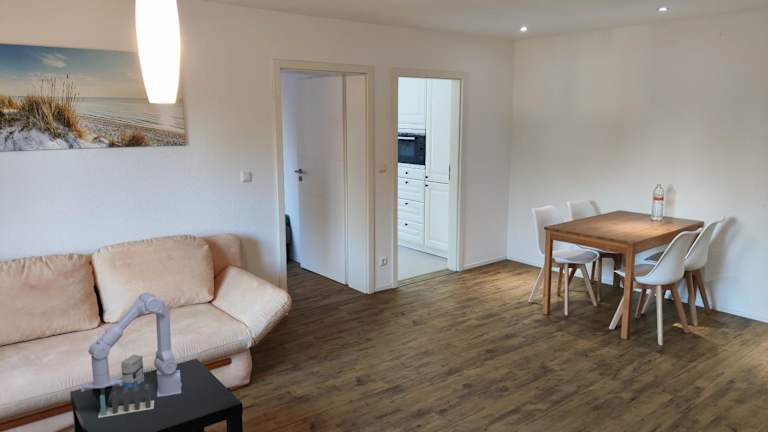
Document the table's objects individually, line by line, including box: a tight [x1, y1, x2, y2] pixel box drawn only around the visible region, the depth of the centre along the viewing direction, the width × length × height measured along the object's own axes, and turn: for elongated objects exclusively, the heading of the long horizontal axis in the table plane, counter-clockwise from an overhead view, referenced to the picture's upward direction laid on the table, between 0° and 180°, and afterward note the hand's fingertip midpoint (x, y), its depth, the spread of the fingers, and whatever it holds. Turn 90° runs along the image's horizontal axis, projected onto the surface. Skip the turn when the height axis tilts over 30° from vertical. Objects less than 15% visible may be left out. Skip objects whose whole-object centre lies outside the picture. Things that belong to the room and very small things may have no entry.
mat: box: [97, 400, 155, 419], centre depth 224 cm, size 20×7×1 cm, turn 110°
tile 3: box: [122, 387, 130, 412], centre depth 224 cm, size 2×5×8 cm, turn 20°
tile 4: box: [133, 384, 141, 410], centre depth 225 cm, size 2×5×8 cm, turn 20°
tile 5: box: [144, 383, 152, 408], centre depth 226 cm, size 2×5×8 cm, turn 20°
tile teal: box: [100, 390, 109, 416], centre depth 221 cm, size 2×5×8 cm, turn 20°
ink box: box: [120, 354, 145, 390], centre depth 245 cm, size 8×5×12 cm, turn 168°
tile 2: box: [110, 388, 120, 414], centre depth 222 cm, size 2×5×8 cm, turn 20°
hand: (104, 404), depth 221 cm, fingers closed on tile teal
